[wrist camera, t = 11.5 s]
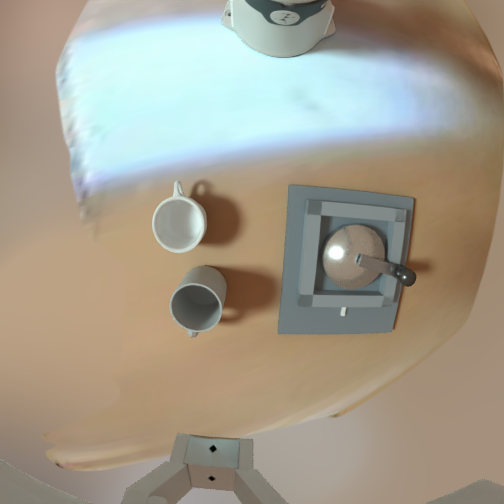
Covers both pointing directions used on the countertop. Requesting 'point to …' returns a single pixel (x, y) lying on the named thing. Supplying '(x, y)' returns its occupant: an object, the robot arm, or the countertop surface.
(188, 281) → the cup
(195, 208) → the teacup
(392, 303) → the panel
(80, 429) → the countertop surface
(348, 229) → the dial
